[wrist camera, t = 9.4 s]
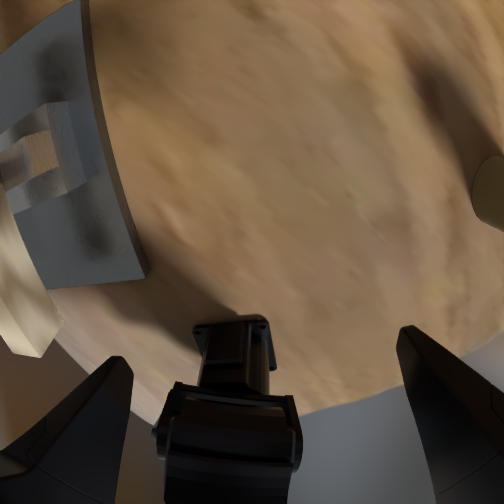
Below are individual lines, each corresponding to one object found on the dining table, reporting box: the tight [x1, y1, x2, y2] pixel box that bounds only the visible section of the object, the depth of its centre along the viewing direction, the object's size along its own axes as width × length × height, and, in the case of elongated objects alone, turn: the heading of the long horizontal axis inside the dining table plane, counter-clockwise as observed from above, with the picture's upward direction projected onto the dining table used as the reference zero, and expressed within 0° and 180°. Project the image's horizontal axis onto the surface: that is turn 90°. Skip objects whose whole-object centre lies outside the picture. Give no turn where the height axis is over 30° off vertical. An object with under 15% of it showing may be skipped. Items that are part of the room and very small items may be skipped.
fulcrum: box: [0, 0, 150, 290], centre depth 14 cm, size 22×14×6 cm, turn 10°
